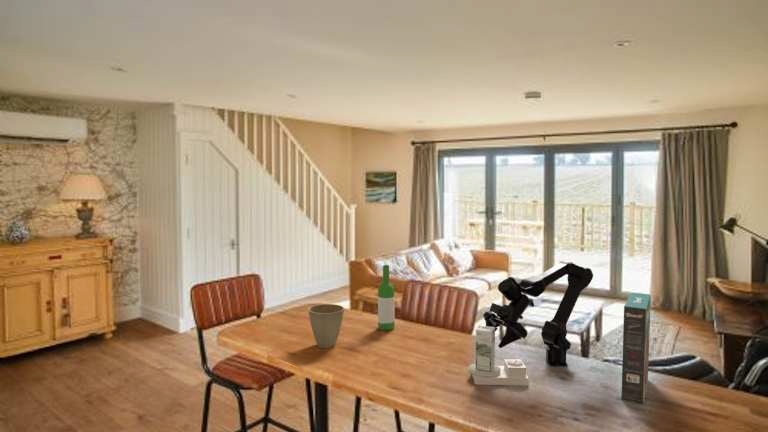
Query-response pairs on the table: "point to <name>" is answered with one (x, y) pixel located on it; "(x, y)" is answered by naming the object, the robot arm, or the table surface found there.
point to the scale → (501, 374)
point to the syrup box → (485, 348)
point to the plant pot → (326, 323)
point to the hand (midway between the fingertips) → (491, 343)
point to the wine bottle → (386, 302)
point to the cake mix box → (636, 347)
